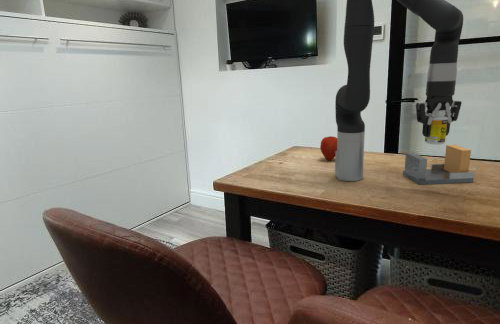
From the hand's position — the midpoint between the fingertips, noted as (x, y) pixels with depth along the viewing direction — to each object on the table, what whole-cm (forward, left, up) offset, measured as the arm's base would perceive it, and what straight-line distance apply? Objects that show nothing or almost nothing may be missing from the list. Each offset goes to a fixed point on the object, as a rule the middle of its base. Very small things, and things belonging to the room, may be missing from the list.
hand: (435, 135), depth 104 cm
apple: (-22, +41, -17) cm, 50 cm away
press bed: (+8, +10, -17) cm, 22 cm away
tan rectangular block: (+14, +10, -16) cm, 23 cm away
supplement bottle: (0, 0, -2) cm, 2 cm away
